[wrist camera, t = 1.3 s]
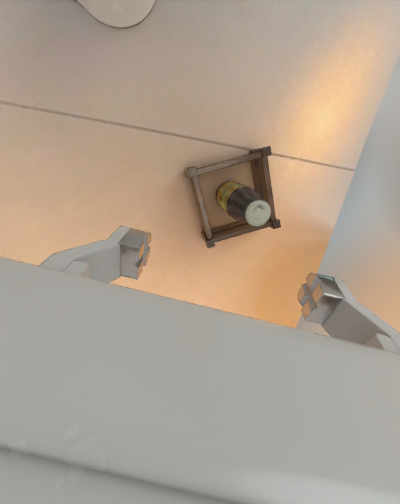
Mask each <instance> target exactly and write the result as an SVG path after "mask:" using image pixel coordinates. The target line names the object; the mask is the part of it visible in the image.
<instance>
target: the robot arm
mask: <svg viewBox="0 0 400 504" xmlns="http://www.w3.org/2000/svg"><path fill="white" fill-rule="evenodd" d="M76 1H78V2H79V3H80V4H81V5H82V6H83V7H84V8H85V9H86V10H87V11H88V12H89V13H90V14H91V15H92V16H94V17H95V18H96V19H98V20H99V21H101V22H103V23H105V24H107V25H110V26H113V27H129V26H133V25H135V24H137V23H139V22H140V21H142V20H143V19H144V18H145V17H146V16H147V15H148V13H149V12H150V10H151V9H152V7H153V5H154V3H155V0H76ZM150 242H151V233H149V232H145V231H141V230H137V229H134V228H130V227H126V226H119V228H118V229H117V230H116V231H115V232H114V233H113V234H112V235H111V236H110V237H109V238H108V239H107V240H106V241H105V240H101V241H98V242H94V243H90V244H87V245H83V246H79V247H76V248H72V249H68V250H65V251H61V252H57V253H54V254H52V255H51V256H50V257H49V258H47V259H46V260H45V261H44V262H43V263H41V264H40V265H39V266H37V265H33V264H29V263H25V262H21V261H16V260H12V259H8V258H4V257H0V504H400V333H399V332H398V331H397V330H395V329H394V328H393V327H392V326H390V325H389V324H388V323H386V322H385V321H384V320H382V319H381V318H380V317H378V316H377V315H376V314H374V313H373V312H372V311H370V310H369V309H368V308H366V307H365V306H364V305H362V304H361V303H359V302H357V301H356V300H355V298H354V296H353V295H352V293H351V292H350V290H349V288H348V287H347V285H346V284H345V282H344V281H343V280H342V279H339V278H333V277H329V276H324V275H320V274H315V273H310V274H309V275H308V276H307V278H306V281H307V283H305V284H303V285H302V286H301V287H300V289H299V292H298V301H299V303H300V304H301V305H302V306H303V308H302V309H301V310H302V313H303V316H304V319H305V320H306V321H310V322H313V323H317V324H321V325H322V327H323V328H324V329H325V330H326V331H327V333H328V334H329V335H330V336H331V337H329V336H325V335H321V334H317V333H312V332H309V331H304V330H300V329H296V328H292V327H288V326H284V325H280V324H276V323H272V322H267V321H263V320H259V319H255V318H251V317H247V316H243V315H239V314H234V313H230V312H226V311H222V310H218V309H214V308H210V307H206V306H202V305H197V304H193V303H189V302H185V301H181V300H177V299H173V298H169V297H165V296H160V295H156V294H152V293H148V292H144V291H140V290H136V289H132V288H128V287H123V286H119V285H115V284H111V283H110V282H111V281H113V280H115V279H117V278H118V277H120V276H124V277H128V278H133V279H138V278H139V276H140V274H141V272H142V268H143V266H145V265H146V263H147V261H148V258H149V254H150V247H149V243H150Z"/></svg>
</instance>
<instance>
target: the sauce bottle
mask: <svg viewBox="0 0 400 504" xmlns="http://www.w3.org/2000/svg"><path fill="white" fill-rule="evenodd" d="M217 201H218V203H219V205H220V206H221V207H222V208H223V209H224V210H225V211H226V212H227V213H228V214H229V215H230V216H231V217H233V218H234V219H235V220H237V221H241V222H247V223H248V224H250V225H252V226H261V225H263V224H265V223H266V222H267V221H268V220H269V218H270V215H271V208H270V206H269V204H268V203H267V202H266V201H264V200H262V199H260V195H259V194H258V193H257V192H255V191H254V190H253V189H252V188H250V187H248V186H245V185H242V184H239V183H236V182H227V183H224V184H223V185H221V187H220V188H219V190H218V192H217Z"/></svg>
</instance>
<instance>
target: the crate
mask: <svg viewBox="0 0 400 504" xmlns="http://www.w3.org/2000/svg"><path fill="white" fill-rule="evenodd" d="M249 152H250V154H247V155H244V156H240V157H237V158H233V159H229V160H226V161H222V162H219V163H215V164H211V165H208V166H204V167H201V168H197V169H196V167H190V168H186V169H185V173H186V176H187V177H189V178H190V181H191V185H192V189H193V193H194V196H195V200H196V204H197V208H198V212H199V216H200V219H201V223H202V227H203V231H204V232H201V233H202V237H203V240H204V242H205V244H206V246H207V248H210V247H214V246H215V244H214V242H218V241H221V240H225V239H228V238H232V237H235V236H239V235H242V234H246V233H249V232H252V231H256V230H259V229H263V228H266V227H271V228H273V229H276V228H279V227H281V225H280V220H279V219H276V217H275V210H274V202H273V195H272V187H271V180H270V173H269V165H268V158H267V156H269V155H271V147H270V146H268V147H263V148H259V149H254V150H251V151H249ZM247 161H251V165H252V171H253V177H254V183H255V189H256V192H257V193H258V194H259V195H260V199H262V200H264V201H266V202H267V203H268V204H269V206H270V208H271V215H270V218H269V220H268V221H267V222H266V223H265V224H263V225H261V226H252V225H250V224H248V223H247V222H241V221H238V222H235V223H231V224H228V225H225V226H221V227H218V228H214V229H210V225H209V221H208V217H207V213H206V209H205V205H204V201H203V197H202V193H201V189H200V185H199V181H198V177H197V175H200V174H204V173H208V172H211V171H215V170H218V169H222V168H225V167H229V166H233V165H236V164H240V163H243V162H247Z"/></svg>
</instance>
